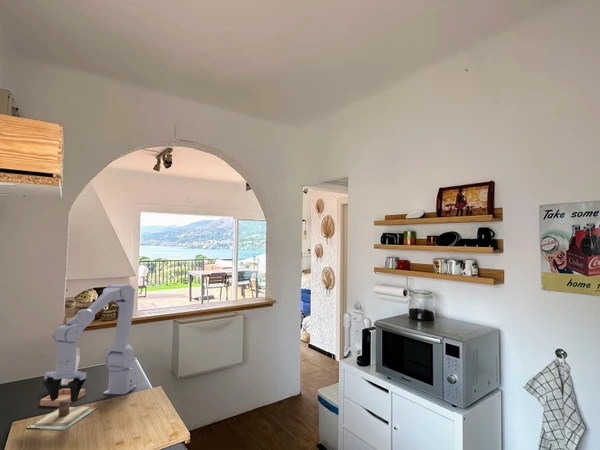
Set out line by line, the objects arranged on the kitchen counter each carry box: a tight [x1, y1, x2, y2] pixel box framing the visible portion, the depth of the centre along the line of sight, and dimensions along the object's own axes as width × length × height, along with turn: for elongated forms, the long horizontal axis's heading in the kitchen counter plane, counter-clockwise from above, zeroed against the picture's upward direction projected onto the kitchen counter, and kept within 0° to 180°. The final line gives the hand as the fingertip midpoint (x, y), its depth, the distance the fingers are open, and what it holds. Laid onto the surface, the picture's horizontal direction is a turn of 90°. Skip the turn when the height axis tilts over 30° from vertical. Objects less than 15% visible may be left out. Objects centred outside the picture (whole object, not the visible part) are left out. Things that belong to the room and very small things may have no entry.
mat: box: [26, 409, 94, 431], centre depth 110 cm, size 14×14×1 cm
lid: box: [35, 399, 91, 426], centre depth 110 cm, size 11×11×5 cm
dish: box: [39, 388, 86, 407], centre depth 124 cm, size 10×10×2 cm
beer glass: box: [60, 346, 81, 386], centre depth 142 cm, size 7×7×15 cm
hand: (64, 400), depth 111 cm, fingers open, 7 cm apart
